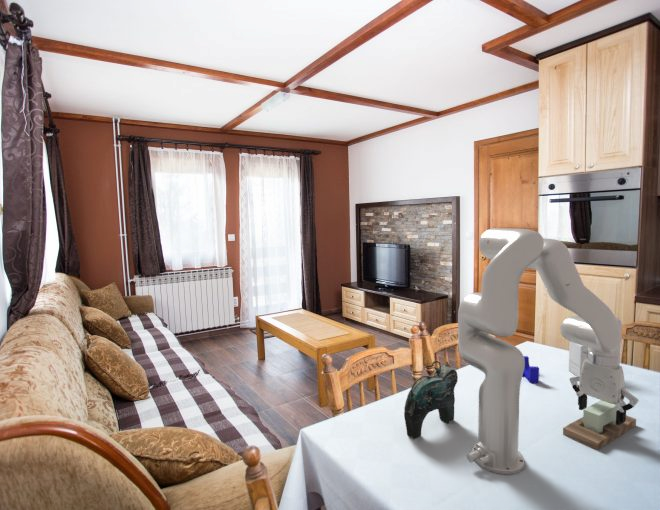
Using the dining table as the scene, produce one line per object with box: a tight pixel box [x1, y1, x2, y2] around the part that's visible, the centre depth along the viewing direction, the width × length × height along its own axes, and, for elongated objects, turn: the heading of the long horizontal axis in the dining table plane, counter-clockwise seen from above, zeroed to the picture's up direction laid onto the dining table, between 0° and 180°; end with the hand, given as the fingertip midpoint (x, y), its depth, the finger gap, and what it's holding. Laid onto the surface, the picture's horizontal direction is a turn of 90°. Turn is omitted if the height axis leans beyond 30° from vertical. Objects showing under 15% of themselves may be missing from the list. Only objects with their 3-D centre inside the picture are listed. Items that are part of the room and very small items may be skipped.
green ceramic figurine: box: [403, 360, 458, 440], centre depth 115 cm, size 20×6×20 cm, turn 123°
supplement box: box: [568, 341, 588, 377], centre depth 149 cm, size 7×7×13 cm
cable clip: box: [522, 355, 540, 384], centre depth 149 cm, size 12×4×6 cm, turn 172°
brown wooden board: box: [562, 414, 637, 451], centre depth 112 cm, size 22×9×2 cm, turn 120°
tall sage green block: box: [582, 399, 618, 435], centre depth 112 cm, size 11×4×7 cm, turn 121°
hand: (600, 415), depth 112 cm, fingers open, 9 cm apart
